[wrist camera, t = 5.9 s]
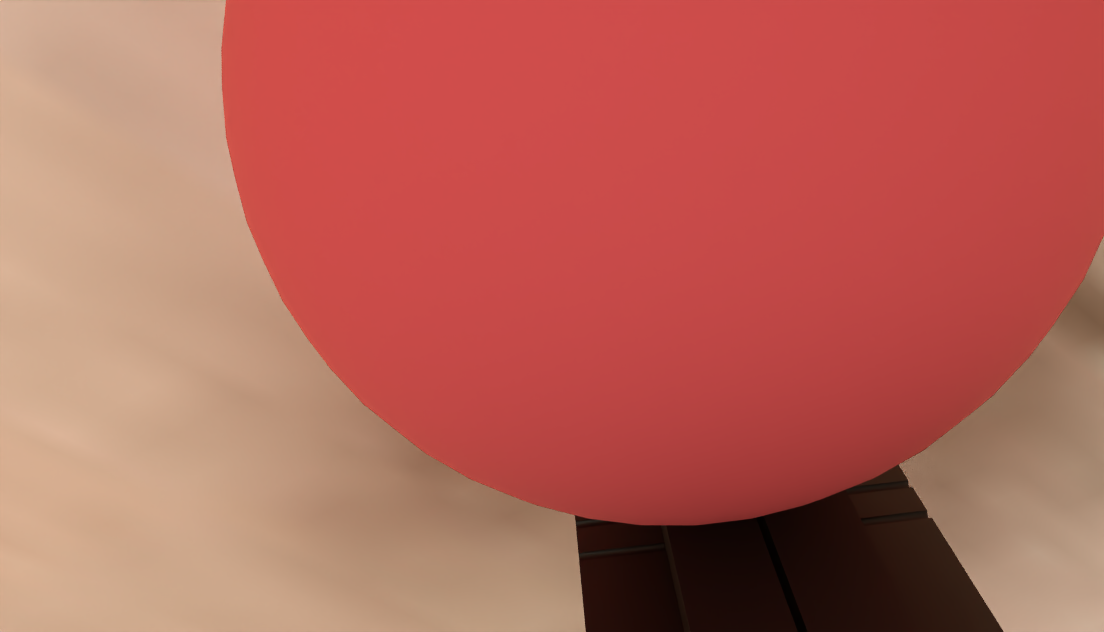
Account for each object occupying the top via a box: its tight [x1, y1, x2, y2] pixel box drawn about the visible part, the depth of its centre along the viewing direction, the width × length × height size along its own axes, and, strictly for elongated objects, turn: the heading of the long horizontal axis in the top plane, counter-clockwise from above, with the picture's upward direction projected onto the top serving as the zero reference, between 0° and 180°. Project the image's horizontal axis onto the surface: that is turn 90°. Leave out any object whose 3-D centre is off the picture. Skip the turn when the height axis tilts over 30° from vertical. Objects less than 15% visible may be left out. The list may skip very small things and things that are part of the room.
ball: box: [221, 0, 1104, 525], centre depth 7 cm, size 6×6×6 cm
